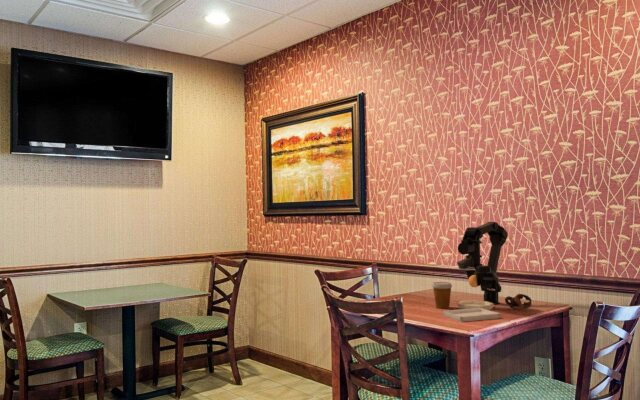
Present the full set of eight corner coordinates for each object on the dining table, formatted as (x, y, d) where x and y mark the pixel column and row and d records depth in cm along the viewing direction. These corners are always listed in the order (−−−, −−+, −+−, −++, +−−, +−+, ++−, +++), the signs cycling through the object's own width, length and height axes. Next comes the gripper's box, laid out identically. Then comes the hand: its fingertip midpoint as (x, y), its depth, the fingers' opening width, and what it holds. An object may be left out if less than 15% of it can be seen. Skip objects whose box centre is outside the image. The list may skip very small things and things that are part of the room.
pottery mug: (527, 308, 264) (532, 294, 260) (528, 320, 256) (534, 306, 252) (502, 301, 266) (507, 288, 262) (502, 313, 258) (507, 299, 254)
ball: (476, 286, 268) (476, 274, 269) (483, 287, 263) (483, 275, 263) (466, 286, 267) (465, 274, 267) (472, 288, 261) (472, 275, 261)
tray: (480, 312, 254) (480, 307, 254) (500, 318, 239) (500, 313, 239) (442, 315, 248) (442, 311, 248) (460, 321, 233) (460, 317, 233)
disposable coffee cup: (452, 309, 262) (452, 284, 262) (432, 309, 264) (432, 284, 264) (452, 305, 271) (451, 281, 271) (432, 305, 273) (432, 281, 273)
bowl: (480, 304, 275) (480, 299, 275) (499, 309, 260) (499, 304, 260) (452, 306, 270) (452, 301, 270) (470, 311, 255) (470, 307, 255)
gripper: (449, 252, 271) (450, 283, 271) (470, 255, 254) (471, 288, 253) (468, 251, 275) (469, 282, 275) (490, 254, 257) (491, 287, 257)
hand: (474, 285), depth 265 cm, fingers closed on ball, 6 cm apart
